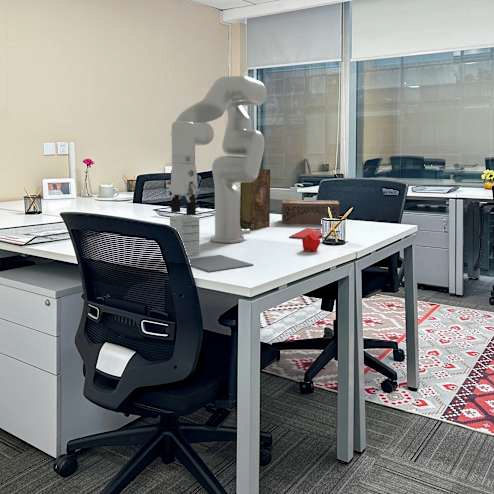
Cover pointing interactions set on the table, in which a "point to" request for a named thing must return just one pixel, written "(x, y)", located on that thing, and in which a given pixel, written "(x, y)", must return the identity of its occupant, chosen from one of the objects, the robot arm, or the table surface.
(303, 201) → the tissue box cover
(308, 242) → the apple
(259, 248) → the table surface
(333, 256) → the table surface
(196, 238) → the supplement box
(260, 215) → the book
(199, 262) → the desk mat
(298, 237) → the red board with handle
